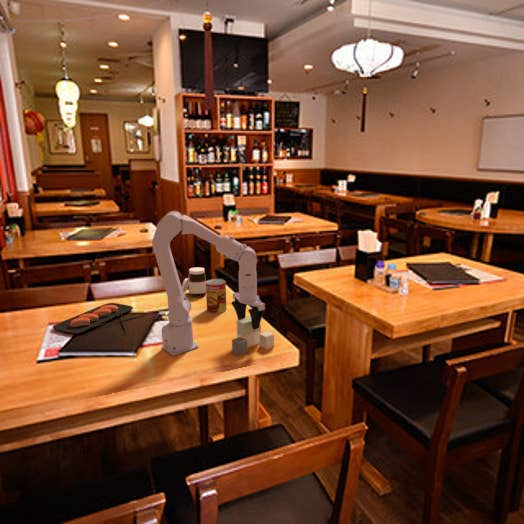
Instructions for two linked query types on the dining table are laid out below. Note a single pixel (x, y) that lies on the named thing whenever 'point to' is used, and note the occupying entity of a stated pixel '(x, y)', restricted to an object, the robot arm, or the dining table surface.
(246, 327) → the sage green brick
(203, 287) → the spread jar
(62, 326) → the sushi plate
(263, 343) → the pale grey cube brick
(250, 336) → the cream brick
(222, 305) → the canned food
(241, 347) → the charcoal cube brick
